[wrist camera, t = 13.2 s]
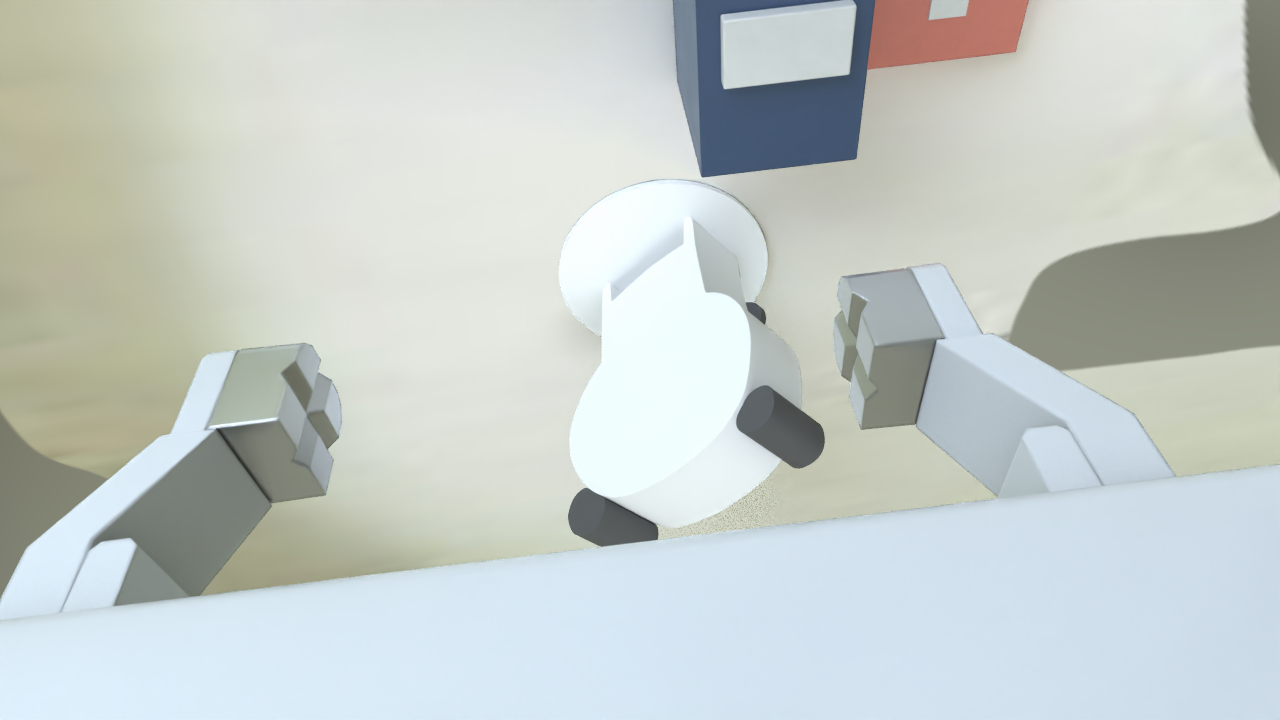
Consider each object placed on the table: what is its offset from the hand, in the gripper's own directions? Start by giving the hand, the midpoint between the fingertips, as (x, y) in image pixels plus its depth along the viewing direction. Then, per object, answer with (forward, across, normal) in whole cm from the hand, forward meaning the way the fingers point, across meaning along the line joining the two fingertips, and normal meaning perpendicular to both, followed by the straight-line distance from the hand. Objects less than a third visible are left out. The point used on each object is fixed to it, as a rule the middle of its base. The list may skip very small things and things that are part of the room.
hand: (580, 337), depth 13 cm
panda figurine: (+25, -2, +20) cm, 32 cm away
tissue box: (+25, -7, +4) cm, 27 cm away
